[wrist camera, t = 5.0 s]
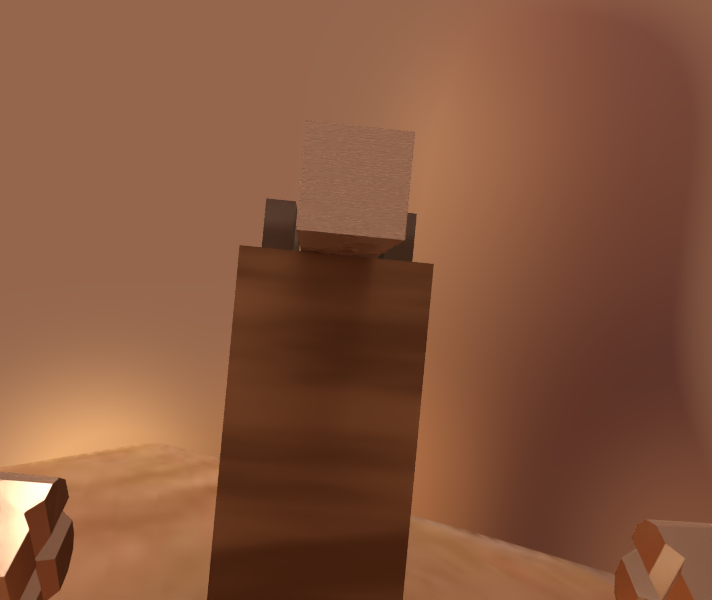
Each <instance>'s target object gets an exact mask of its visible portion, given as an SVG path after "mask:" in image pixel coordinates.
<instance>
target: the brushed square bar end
mask: <svg viewBox="0 0 712 600" xmlns="http://www.w3.org/2000/svg"><path fill="white" fill-rule="evenodd" d="M414 136H415V132H409V131H401V130H392V129H383V128H373V127H364V126H355V125H346V124H337V123H328V122H319V121H310V120H306V130H305V141H304V153H303V163H302V174H301V185H300V197H299V207H298V218H297V228H296V230H297V235H298V239H299V244H300V248H301V251H304V252H314V253H324V254H335V255H345V256H356V257H366V258H375V257H377V256H379V255H380V254H382V253H384V252H386V251H387V250H389V249H391V248H392V247H394V246H396V245H398V244H399V243H401V242H403V241H404V240H405V234H406V223H407V212H408V202H409V191H410V190H409V189H410V180H411V169H412V158H413V147H414Z"/></svg>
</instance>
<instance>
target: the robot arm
mask: <svg viewBox="0 0 712 600" xmlns="http://www.w3.org/2000/svg"><path fill="white" fill-rule="evenodd" d="M68 498H69V495H68V490H67V485H66V480H64V479H62V478H58V477H47V476H37V475H27V474H17V473H6V472H0V600H48V599H49V598H51V597H52V596H53V595H55V594H56V593H57V592H58V591H60V589H61V586H62V584H63V581H64V579H65V577H66V574H67V572H68V568H69V564H70V559H71V555H72V551H73V539H74V530H73V522H72V519H71V518H69V517H68V516H67V515H66V514H65V513H64V512H63V509H64V507H65V504H66V502H67V500H68ZM632 539H633V541H634V544H635V546H636V549H634V550H633V551H631V552H630V553H628V554H627V555H625V556H623V557H622V558H621V561H620V563H619V566H618V568H617V570H616V573H615V590H614V593H615V598H616V600H712V524H709V523H697V522H680V521H663V520H647V519H646V520H644V521H642V522H641V523H640V524H638V525H637V527H636V529H635V531H634V533H633V535H632Z"/></svg>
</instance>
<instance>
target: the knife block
mask: <svg viewBox="0 0 712 600" xmlns="http://www.w3.org/2000/svg"><path fill="white" fill-rule="evenodd" d="M416 215H417V214H413V213H407V223H406V234H405V240H404V241H403V242H401V243H399V244H398V245H396V246H394V247H392V248H391V249H389V250H387V251H386V252H384V253H382V254H380V255H379V256H377V257H375V258H366V257H356V256H345V255H335V254H324V253H314V252H304V251H299V245H300V244H299V239H298V235H297V230H296V228H297V226H296V219H297V206H296V202H295V201H285V200H276V199H266V208H265V219H264V230H263V241H262V247H251V246H241V245H240V248H239V258H238V269H237V280H236V291H235V302H234V312H233V324H232V335H231V345H230V356H229V368H228V379H227V389H226V400H225V412H224V421H223V432H222V444H221V454H220V465H219V476H218V487H217V498H216V509H215V519H214V530H213V541H212V552H211V563H210V574H209V585H208V596H207V600H403V591H404V580H405V569H406V558H407V548H408V537H409V526H410V515H411V504H412V493H413V482H414V472H415V460H416V450H417V439H418V428H419V417H420V406H421V395H422V385H423V374H424V363H425V362H424V361H425V352H426V341H427V329H428V320H429V309H430V298H431V286H432V275H433V265H434V264H428V263H417V262H412V259H413V258H412V257H413V248H414V236H415V226H416Z"/></svg>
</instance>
